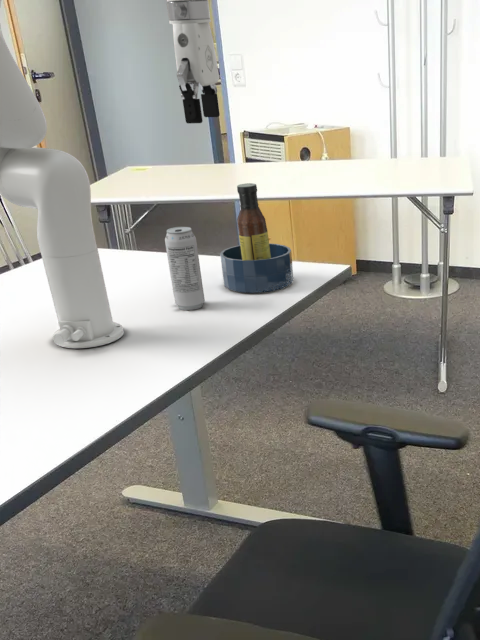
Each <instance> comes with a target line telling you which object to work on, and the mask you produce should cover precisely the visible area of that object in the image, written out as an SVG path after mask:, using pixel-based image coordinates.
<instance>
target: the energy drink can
mask: <svg viewBox="0 0 480 640" xmlns="http://www.w3.org/2000/svg"><path fill="white" fill-rule="evenodd" d="M192 229H193V228H191V227H190V226H175V227H170V228H168V229H166V231H165V232H166V235H165V238H164V243H165V250H166V256H167V262H168V269H169V275H170V281H171V287H172V294H173V300H174V304H175V305H176V306H177V307H178V309H179V310H181V311H194V310H198V309H201V308H202V307H203V306H204V304H203V303H205V302H206V300H205V292H204V285H203V278H202V272H201V265H200V258H199V257H200V255H199V250H198V243H197V242H198V241H197V238H196V235H195V234H194V232H193V231H192Z"/></svg>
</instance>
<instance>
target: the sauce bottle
mask: <svg viewBox="0 0 480 640" xmlns="http://www.w3.org/2000/svg"><path fill="white" fill-rule="evenodd" d="M236 188H237V189H236V191H237V194H238V198H239V207H240V209H239V212H238V215H237V218H236V221H237V229H238V239H239V245H240V246H241V253H242V260H260V259H268V258H271V254H270V246H269V243H270V240H269V230H268V227H267V222H266V221H267V220H266V218H265V215H264V214H263V212H262V210H261V208H260V206H259V201H258V187H257V183H250V182H249V183H240V184H238V185H236Z"/></svg>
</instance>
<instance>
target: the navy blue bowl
mask: <svg viewBox="0 0 480 640" xmlns="http://www.w3.org/2000/svg"><path fill="white" fill-rule="evenodd" d="M269 246H270V254H271V258H268V259H260V260H242V253H241V246H240V244H239V245H235V246H230V247H228V248H225V249H222V250H221V252H219V256H220V263H221V271H222V279H223V280H222V281H223V285H224V287H225V288H226V289H228V290H231V291H232V292H236V293H240V294H241V293H242V294H266V293H272V292H276V291H280V290H283V289H285V288H287V287H288V286H290V285H292V284H293V282H294V269H293V255H292V249H291V247H289V246H287V245H285V244H279V243H270V242H269Z"/></svg>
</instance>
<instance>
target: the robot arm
mask: <svg viewBox="0 0 480 640" xmlns="http://www.w3.org/2000/svg"><path fill="white" fill-rule="evenodd" d="M165 2H166V9H167V15H168V22H169V25H172V37H173V45H174V46H173V47H174V58H175V64H176V65H175V66H176V71H177V72H176V78H177V81H178V84H179V86H178V87H179V91H180V96H181V100H182V105H183V106H182V107H183V112H184V117H185V118H184V119H185V123H186V124H202V123H203V122H204V121H203V117H204V118H218V117H220V106H219V97H218V88H217V83H218V82H219V81H220V73H219V67H218V66H219V65H218V60H217V53H216V49H215V42H214V36H213V33H212V32H213V31H212V28H211V25H210V23H211V22H212V20H211V13H210V3H209V0H165ZM1 6H2V0H0V7H1ZM199 87H200V90H201V92H202V93H201V94H200V98H198V95H199ZM202 113H203V114H202ZM47 131H48V122H47V119H46V115H45V113H44V110H43V107H42V106H41V104H40V103H39V100H38V99H37V97H36V95H35V93H34V92H33V91H32V89H31V87H30V85H29V83H28V82H27V80H26V78H25V76H24V75H23V72H22V71H21V69H20V67H19V66H18V64H17V62H16V60H15V58H14V57H13V55H12V52H11V51H10V49H9V47H8V45H7V42H6V40H5V38H4V35H3V30H2V26H1V24H0V195H1V196H2V197H3V198H4V199H5V200H7V201H8V202H10V203H11V204H13V205H16V206H19V207H23V208H29V209H35V210H37V222H36V235H37V236H36V237H37V243H38V248H39V253H40V255H41V260H42V263H43V267H44V271H45V275H46V279H47V284H48V287H49V291H50V295H51V299H52V303H53V307H54V311H55V316H56V319H57V323H58V327H59V329H57V330H56V331H55V332H54V333H53V334H52V339H53V342H54V344H55V345H57V346H58V347H62V348H66V349H88V348H96V347H101V346H105V345H108V344H110V343H113V342H116V341H118V340H119V339H120V338H122V337H123V336H124V334H125V333H124V332H125V331H124V327H123V325H122V324H120V323H119V322H115V321H114V320H113V316H112V311H111V306H110V301H109V296H108V290H107V287H106V283H105V277H104V272H103V268H102V262H101V258H100V253H99V249H98V245H97V240H96V239H97V238H96V234H95V228H94V223H93V217H92V194H91V193H92V192H91V191H92V190H91V182H90V178H89V175H88V172H87V171H86V168H85V166H83V164H82V162H81V161H80V160H79V159H78V158H76V157H75V156H74V155H72V154H71V153H69V152H66V151H63V150H61V149H56V148H48V147H36V146H38V145H40V144H41V143H42V142H43V141H44V139H45V137H46V135H47Z"/></svg>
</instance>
